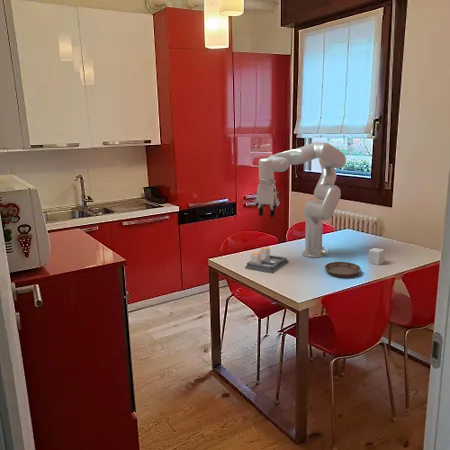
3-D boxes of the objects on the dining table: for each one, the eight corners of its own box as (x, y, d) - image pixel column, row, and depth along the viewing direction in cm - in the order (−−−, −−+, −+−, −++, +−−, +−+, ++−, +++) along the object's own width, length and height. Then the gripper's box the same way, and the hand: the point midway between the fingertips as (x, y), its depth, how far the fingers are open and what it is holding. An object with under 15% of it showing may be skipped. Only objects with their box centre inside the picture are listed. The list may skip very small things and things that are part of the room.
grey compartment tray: (288, 262, 239) (288, 257, 238) (272, 273, 222) (271, 267, 222) (262, 258, 247) (262, 253, 246) (245, 268, 231) (245, 263, 230)
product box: (384, 262, 233) (385, 249, 231) (378, 265, 229) (379, 252, 227) (374, 260, 237) (374, 247, 236) (368, 262, 233) (368, 249, 232)
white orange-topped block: (270, 258, 241) (269, 247, 240) (266, 260, 238) (266, 249, 236) (263, 257, 244) (263, 246, 242) (259, 259, 240) (259, 248, 238)
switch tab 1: (261, 263, 233) (261, 252, 232) (257, 266, 230) (257, 254, 228) (255, 262, 235) (254, 251, 234) (250, 264, 232) (250, 253, 230)
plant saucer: (361, 280, 210) (361, 274, 209) (323, 277, 215) (323, 272, 214) (360, 268, 226) (360, 262, 226) (325, 266, 231) (325, 260, 230)
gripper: (284, 182, 222) (284, 216, 227) (255, 180, 232) (255, 213, 236) (278, 184, 216) (278, 219, 221) (248, 182, 225) (248, 216, 230)
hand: (266, 215), depth 228 cm, fingers open, 5 cm apart
